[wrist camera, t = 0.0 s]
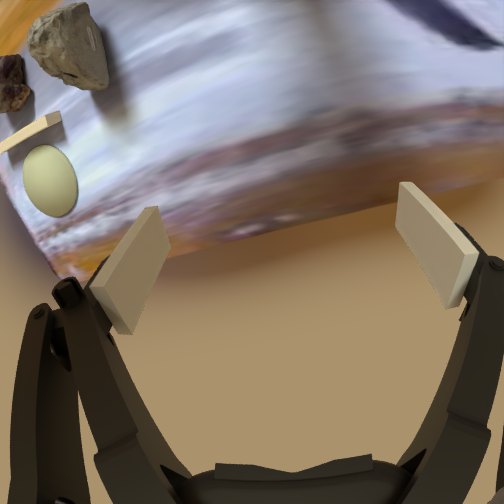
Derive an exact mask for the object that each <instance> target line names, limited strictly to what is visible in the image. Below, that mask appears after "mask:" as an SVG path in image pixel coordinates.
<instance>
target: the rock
mask: <svg viewBox="0 0 504 504" xmlns="http://www.w3.org/2000/svg"><path fill="white" fill-rule="evenodd" d="M21 65H22V63H21V56H20V55H19V54H17V55H9V56H8V55H6V56H0V113H5V112H8V111H13V112H17V111H20V110H21V108H22V107H23V106H24V104H25V100H26V99H27V97H28V96H29V94H30V93H31V92H30V87H28V86H25V85H24V84H22V82H23V72H22V71H21Z"/></svg>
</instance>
